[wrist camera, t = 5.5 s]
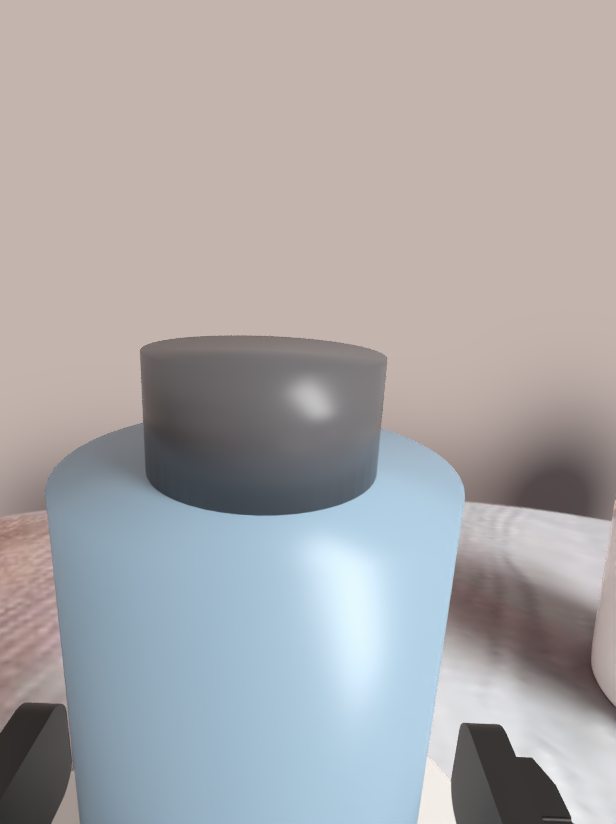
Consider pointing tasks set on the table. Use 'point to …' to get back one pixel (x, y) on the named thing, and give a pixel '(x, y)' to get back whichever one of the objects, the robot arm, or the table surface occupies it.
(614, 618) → the candle holder
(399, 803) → the bottle
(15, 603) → the table surface
